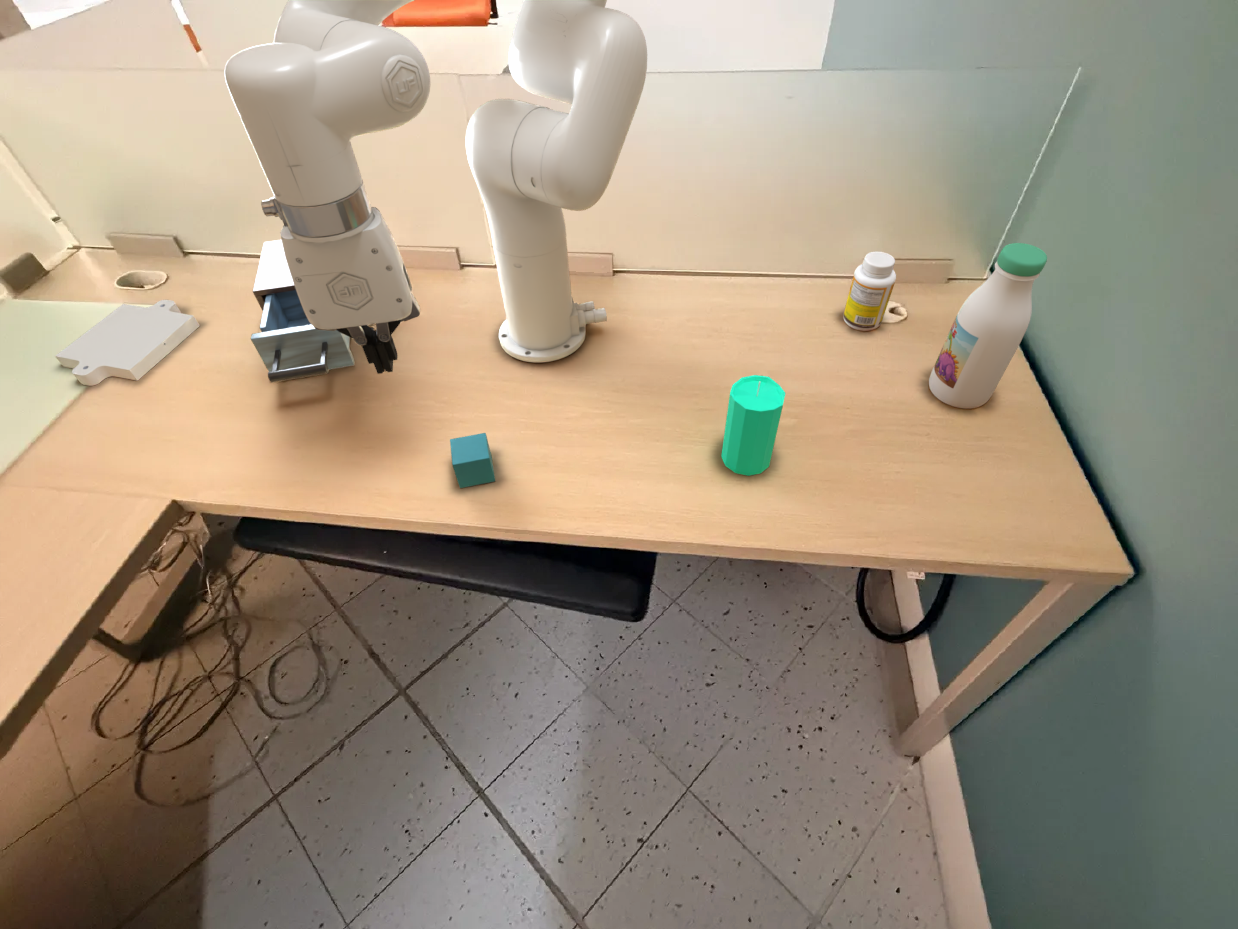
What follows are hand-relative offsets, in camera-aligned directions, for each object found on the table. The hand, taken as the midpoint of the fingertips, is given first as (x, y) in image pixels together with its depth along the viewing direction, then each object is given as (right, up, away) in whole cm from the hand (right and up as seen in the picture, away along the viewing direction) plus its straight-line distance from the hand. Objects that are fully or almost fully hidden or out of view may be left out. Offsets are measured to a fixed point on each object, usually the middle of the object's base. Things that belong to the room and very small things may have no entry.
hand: (385, 364), depth 72 cm
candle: (+41, -10, +6) cm, 43 cm away
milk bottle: (+71, -1, +13) cm, 72 cm away
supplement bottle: (+62, +10, +24) cm, 67 cm away
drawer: (-17, +4, +20) cm, 26 cm away
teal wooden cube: (+9, -12, +6) cm, 16 cm away
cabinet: (-20, +13, +29) cm, 38 cm away
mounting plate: (-46, +6, +24) cm, 52 cm away
